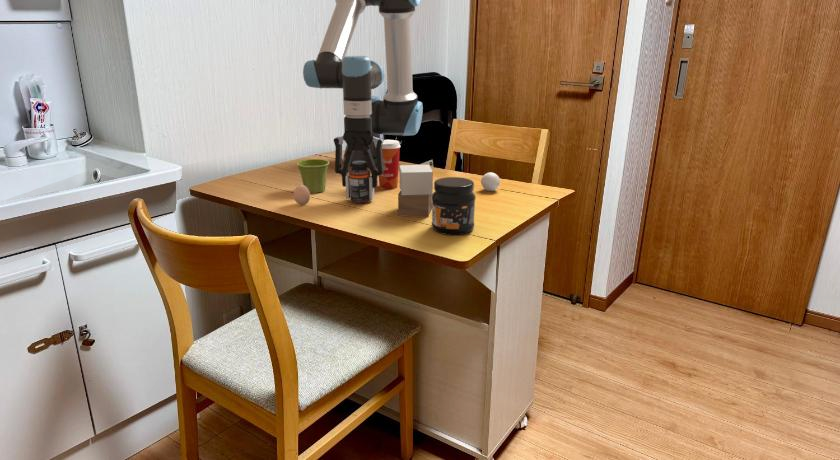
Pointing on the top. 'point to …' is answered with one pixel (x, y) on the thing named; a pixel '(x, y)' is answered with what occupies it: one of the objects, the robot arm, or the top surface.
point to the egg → (301, 195)
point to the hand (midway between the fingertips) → (360, 197)
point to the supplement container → (453, 205)
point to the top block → (416, 180)
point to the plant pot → (314, 174)
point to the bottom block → (414, 205)
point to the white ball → (490, 181)
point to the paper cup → (390, 164)
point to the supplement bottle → (359, 182)
